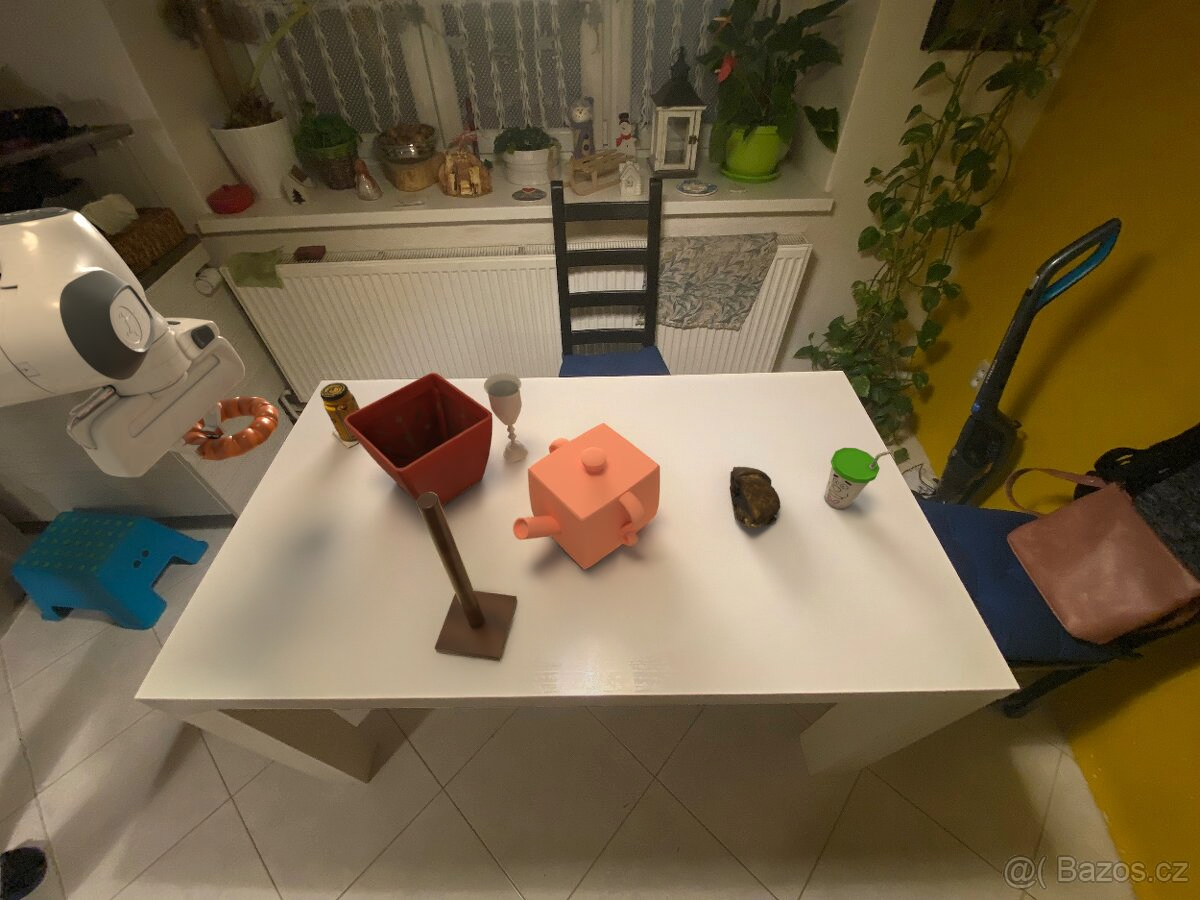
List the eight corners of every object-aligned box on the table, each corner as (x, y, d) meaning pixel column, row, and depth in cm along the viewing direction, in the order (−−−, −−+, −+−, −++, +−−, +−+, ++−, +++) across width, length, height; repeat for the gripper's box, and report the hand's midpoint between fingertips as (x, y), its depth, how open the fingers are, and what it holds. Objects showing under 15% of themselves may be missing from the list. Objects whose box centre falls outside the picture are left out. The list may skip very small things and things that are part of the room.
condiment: (332, 432, 111) (309, 389, 103) (368, 413, 115) (349, 371, 107) (347, 449, 108) (325, 406, 99) (384, 429, 112) (365, 386, 103)
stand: (500, 661, 76) (454, 542, 53) (436, 652, 77) (365, 531, 54) (517, 600, 83) (483, 471, 60) (458, 592, 84) (403, 463, 61)
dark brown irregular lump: (718, 469, 102) (732, 445, 97) (759, 477, 103) (775, 453, 98) (730, 537, 90) (747, 513, 85) (777, 544, 91) (796, 521, 86)
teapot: (565, 620, 80) (557, 559, 67) (488, 532, 92) (468, 466, 79) (673, 533, 92) (684, 466, 79) (592, 464, 103) (590, 397, 91)
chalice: (537, 457, 105) (527, 389, 92) (507, 470, 103) (492, 402, 90) (523, 436, 110) (511, 368, 97) (493, 448, 107) (477, 380, 94)
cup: (806, 497, 97) (831, 441, 86) (831, 478, 100) (858, 422, 89) (842, 523, 93) (873, 468, 82) (867, 502, 96) (899, 447, 85)
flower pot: (452, 432, 111) (433, 369, 99) (508, 477, 101) (494, 414, 89) (372, 480, 101) (341, 417, 89) (426, 535, 92) (398, 473, 80)
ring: (248, 468, 66) (237, 453, 64) (168, 459, 67) (154, 444, 65) (298, 411, 74) (289, 396, 72) (225, 404, 75) (215, 389, 74)
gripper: (85, 424, 49) (172, 512, 59) (223, 314, 63) (275, 400, 73) (28, 419, 50) (123, 506, 60) (178, 311, 64) (235, 396, 74)
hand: (208, 447), depth 67 cm, fingers closed on ring, 3 cm apart
